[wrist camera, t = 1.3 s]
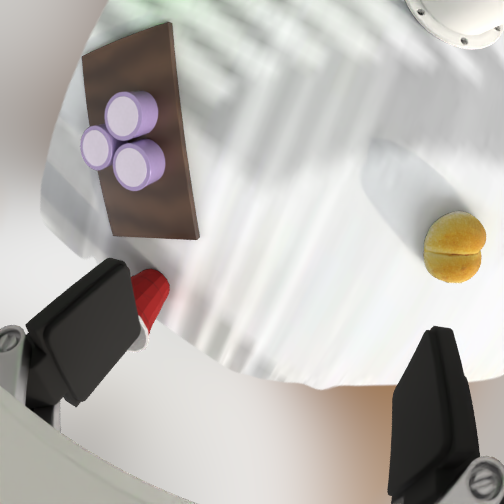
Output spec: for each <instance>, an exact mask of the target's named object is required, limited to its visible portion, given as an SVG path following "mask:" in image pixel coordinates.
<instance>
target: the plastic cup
mask: <svg viewBox="0 0 504 504" xmlns="http://www.w3.org/2000/svg"><path fill="white" fill-rule="evenodd" d="M131 282H132V287H133V292H134V297H135V302H136V307H137V312H138V317H139V321H140V326H141V332H140V335H139V337H138V338H137V339H136V340H135V342H134V343H133V344H132V345H131V346H130V348H129V349H128V350H127V351H128V352H140V351H142V350H145V349H146V347H147V345H148V343H149V333H150V330H151V327H152V325H153V323H154V321H155V319H156V317H157V315H158V314H159V312H160V310H161V308H162V306H163V303H164V302H165V300H166V298H167V296H168V294H169V291H170V289H169V284H168V281H167V279H166V278H165V277H164V276H163V274H161V273H160V272H159V271H157V270H154V269H146V270H143V271H142V272H140V273H138V274H137V275H135V276H132V277H131Z"/></svg>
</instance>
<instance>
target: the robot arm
mask: <svg viewBox="0 0 504 504" xmlns="http://www.w3.org/2000/svg"><path fill="white" fill-rule="evenodd" d="M405 1H406V3H407V6H408V7H409V9H410V11H411V12H412V14H413V15H414V17H415V18H416V19H417V20H418V22H419V23H420V24H421V25H422V26H423V27H424V28H425V29H426V30H427V31H429V32H430V33H431V34H433V35H434V36H435V37H437V38H438V39H440V40H442V41H443V42H445V43H447V44H450V45H452V46H455V47H458V48H463V49H473V50H474V49H481V48H484V47H487V46H489V45H491V44H493V43H494V42H495V41H496V40H497V39H498V38H499V37H500V35H501V34H502V32H503V28H504V0H405ZM418 12H420V13H421V14H422V15H419V14H418ZM495 29H496V30H495ZM461 40H462V41H463V42H464V44H463V43H462V42H461ZM26 328H27V330H28V332H29V333H28V334H27V335H26V334H25V332H24V330H23V329H22V328H21V327H20V326H16V325H9V326H5V327H3V328H1V329H0V504H197V503H194V502H192V501H189V500H187V499H184V498H181V497H179V496H176V495H174V494H172V493H169V492H167V491H165V490H162V489H160V488H158V487H156V486H154V485H151V484H149V483H147V482H145V481H143V480H141V479H139V478H137V477H135V476H133V475H131V474H129V473H127V472H125V471H123V470H121V469H119V468H118V467H116V466H114V465H112V464H110V463H109V462H107V461H105V460H103V459H101V458H100V457H98V456H96V455H95V454H93V453H91V452H90V451H88V450H87V449H85V448H83V447H82V446H80V445H79V444H77V443H76V442H74V441H72V440H71V439H69V438H68V437H67V436H65V435H64V434H62V433H61V426H60V400H61V399H62V397H64V399H65V400H66V401H67V402H69V403H70V404H72V405H73V406H75V407H77V406H78V405H79V403H80V402H83V401H85V400H86V399H87V398H88V397H89V396H90V394H91V393H92V392H93V391H94V389H95V388H96V387H97V386H98V385H99V383H100V382H101V381H102V380H103V379H104V377H105V376H106V375H107V374H108V372H109V371H110V370H111V369H112V368H113V366H114V365H115V364H116V363H117V362H118V361H119V359H120V358H121V357H122V356H123V355H124V353H125V352H126V351H127V350H128V349H129V348H130V346H131V345H132V344H133V343H134V342H135V340H136V339H137V338H138V337H139V335H140V332H141V326H140V321H139V317H138V312H137V307H136V302H135V297H134V292H133V287H132V282H131V276H130V271H129V268H128V267H127V266H126V263H125V262H124V261H121V260H117V259H113V258H107V259H106V260H104V261H103V262H102V263H100V264H99V265H98V266H96V267H95V268H94V269H93V270H91V271H90V272H89V273H88V274H86V275H85V276H84V277H82V278H81V279H80V280H79V281H77V282H76V283H75V284H73V285H72V286H71V287H70V288H69V289H67V290H66V291H65V292H64V293H62V294H61V295H60V296H59V297H57V298H56V299H55V300H54V301H53V302H51V303H50V304H49V305H48V306H47V307H46V308H44V309H43V310H42V311H41V312H40V313H38V314H37V315H36V316H35V317H34V318H32V319H31V320H30V321H29V322H28V323H27V324H26ZM388 495H390V496H392V501H391V504H504V465H503V464H502V463H501V462H500V461H499V460H497V459H496V458H494V457H489V456H483V457H480V453H479V444H478V436H477V429H476V422H475V416H474V410H473V405H472V400H471V394H470V390H469V385H468V381H467V378H466V377H465V376H464V372H463V368H462V364H461V360H460V356H459V352H458V348H457V344H456V341H455V337H454V333H453V331H452V329H450V328H444V327H438V326H433V327H432V328H431V330H426V331H425V333H424V334H423V336H422V339H421V341H420V343H419V345H418V347H417V349H416V351H415V353H414V355H413V357H412V359H411V361H410V363H409V364H408V366H407V368H406V370H405V372H404V374H403V376H402V377H401V379H400V381H399V383H398V385H397V386H396V388H395V390H394V393H393V399H392V438H391V456H390V469H389V481H388Z"/></svg>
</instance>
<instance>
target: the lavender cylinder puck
mask: <svg viewBox="0 0 504 504" xmlns="http://www.w3.org/2000/svg"><path fill="white" fill-rule="evenodd" d="M126 143H128V141H127V140H125V141H121V140H118V139H116V138H114V137H113V136H112V135H111V134H110V133H109V131H108V129H107V127H106V124H105V123H102V124H98V125H94V126H91V127H89V128H87V129H86V130H85V132H84V133H83V135H82V138H81V145H80V147H81V154H82V157H83V159H84V161H85V163H86V164H87V165H88V166H89V167H90V168H92V169H94V170H102V169H104V168H107V167H109V166H112V165H113V158H114V154H115V152H116V151H117V149H118V148H119V147H120V146H122V145H123V144H126Z"/></svg>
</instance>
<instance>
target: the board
mask: <svg viewBox="0 0 504 504" xmlns="http://www.w3.org/2000/svg"><path fill="white" fill-rule="evenodd" d="M82 65H83V76H84V86H85V95H86V103H87V110H88V118H89V124H90V127H91V126H94V125H98V124H102V123H105V109H106V106H107V103H108V102H109V100H110V99H111V98H112V97H113V96H114V95H115V94H117V93H119V92H125V91H137V90H142V91H146V92H148V93H149V94H151V95H152V96H153V98H154V99H155V101H156V103H157V107H158V119H157V122H156V125H155V127H154V128H153V129H152V130H151V132H149V133H148V134H146V135H144V136H140V137H136V138H133V139H129V140H127V141H128V143H129V142H133V141H136V140H140V139H150V140H152V141H154V142H155V143H157V144H158V145H159V147H160V148H161V149H162V151H163V154H164V157H165V170H164V173H163V175H162V177H161V178H160V179H159V180H158V181H156V182H154V183H153V184H151V185H149V186H147V187H145V188H143V189H141V190H138V191H131V190H128V189H126V188H124V187H123V186H122V185H121V184H120V183H119V182H118V180H117V179H116V177H115V174H114V171H113V165H112V166H109V167H107V168H104V169H102V170H98V174H99V179H100V184H101V189H102V193H103V197H104V202H105V206H106V210H107V214H108V218H109V222H110V226H111V230H112V233H113V236H124V237H145V238H166V239H186V240H197V239H198V238H199V237H200V235H199V230H198V224H197V218H196V212H195V205H194V199H193V193H192V186H191V180H190V173H189V166H188V159H187V152H186V145H185V137H184V130H183V122H182V114H181V106H180V98H179V89H178V80H177V71H176V61H175V51H174V40H173V28H172V23H170V22H167V23H164V24H160V25H157V26H154V27H152V28H149V29H146V30H143V31H140V32H138V33H135V34H132V35H130V36H127V37H125V38H122V39H120V40H117V41H115V42H112V43H110V44H108V45H106V46H103V47H101V48H99V49H97V50H94V51H92V52H90V53H88V54H86V55H84V56H82Z"/></svg>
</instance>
